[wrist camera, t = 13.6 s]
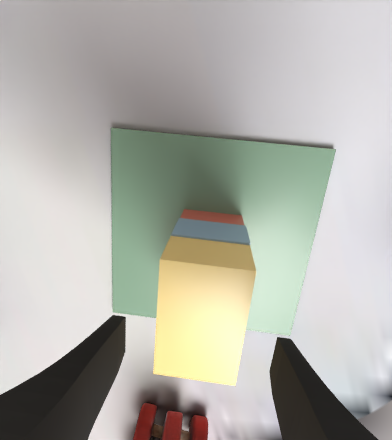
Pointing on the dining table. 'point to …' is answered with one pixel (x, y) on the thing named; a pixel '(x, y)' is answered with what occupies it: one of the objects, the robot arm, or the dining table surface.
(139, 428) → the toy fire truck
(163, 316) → the ochre brick
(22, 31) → the dining table surface
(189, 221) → the slate-blue brick
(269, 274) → the baseplate
